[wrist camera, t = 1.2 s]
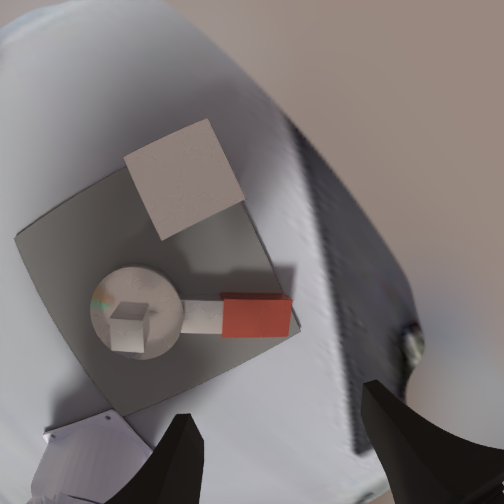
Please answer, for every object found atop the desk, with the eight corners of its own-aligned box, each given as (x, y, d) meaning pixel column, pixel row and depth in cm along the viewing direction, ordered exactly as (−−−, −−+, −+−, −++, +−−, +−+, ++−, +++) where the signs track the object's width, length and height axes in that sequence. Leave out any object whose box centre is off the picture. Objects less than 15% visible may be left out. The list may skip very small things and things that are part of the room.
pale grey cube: (167, 234, 19) (161, 240, 14) (137, 171, 18) (123, 157, 13) (230, 203, 20) (245, 199, 15) (201, 141, 19) (207, 118, 14)
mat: (121, 415, 20) (121, 417, 19) (15, 237, 16) (13, 238, 16) (299, 330, 22) (300, 331, 22) (206, 129, 19) (206, 128, 19)
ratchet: (101, 343, 19) (81, 379, 14) (97, 260, 18) (70, 275, 13) (277, 348, 22) (303, 382, 17) (286, 269, 21) (317, 286, 16)
